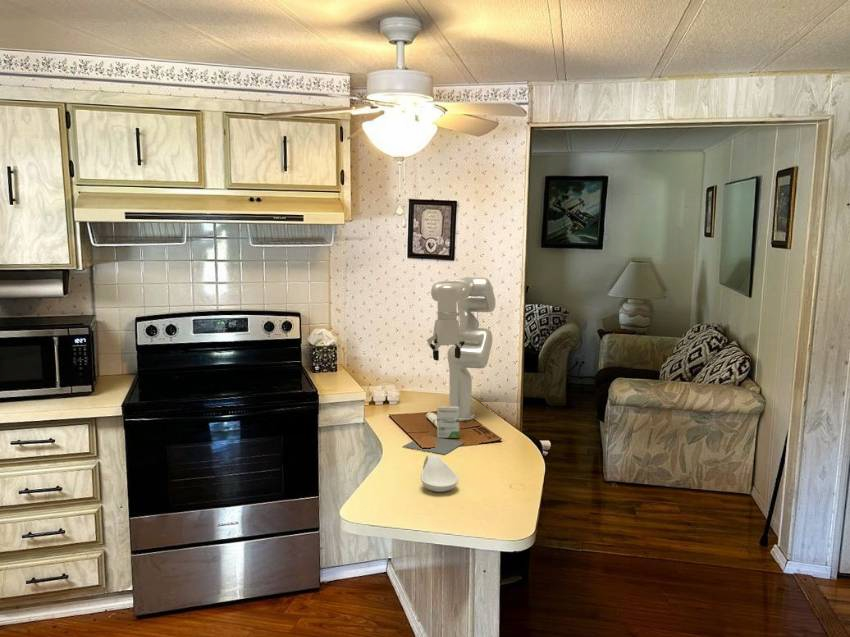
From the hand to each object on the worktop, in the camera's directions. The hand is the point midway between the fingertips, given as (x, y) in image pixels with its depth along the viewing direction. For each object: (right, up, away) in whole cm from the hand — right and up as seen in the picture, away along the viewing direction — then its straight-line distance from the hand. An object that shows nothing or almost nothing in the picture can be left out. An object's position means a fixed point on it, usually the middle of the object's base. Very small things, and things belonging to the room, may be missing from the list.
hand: (446, 359), depth 273 cm
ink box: (0, -31, -4) cm, 31 cm away
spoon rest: (-5, -37, -51) cm, 63 cm away
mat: (-5, -32, -13) cm, 35 cm away
